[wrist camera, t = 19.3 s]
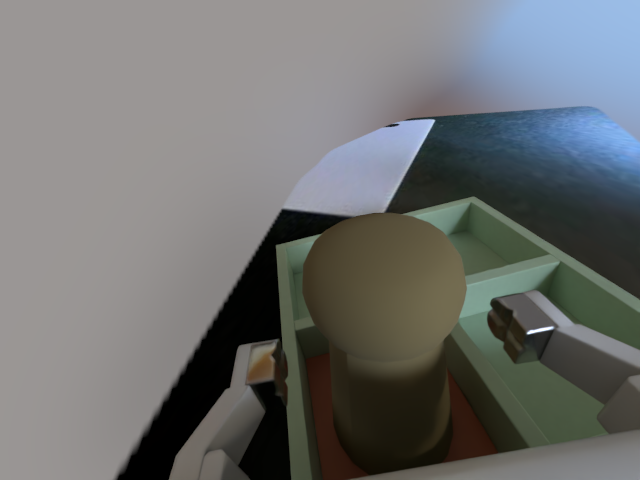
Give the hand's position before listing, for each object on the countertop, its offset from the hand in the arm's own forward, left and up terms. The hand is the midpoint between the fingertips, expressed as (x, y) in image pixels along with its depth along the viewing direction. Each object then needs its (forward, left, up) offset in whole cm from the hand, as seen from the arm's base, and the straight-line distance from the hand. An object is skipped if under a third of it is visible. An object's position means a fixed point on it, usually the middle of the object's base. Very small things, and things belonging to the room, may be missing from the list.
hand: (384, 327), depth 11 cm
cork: (0, 0, -7) cm, 7 cm away
